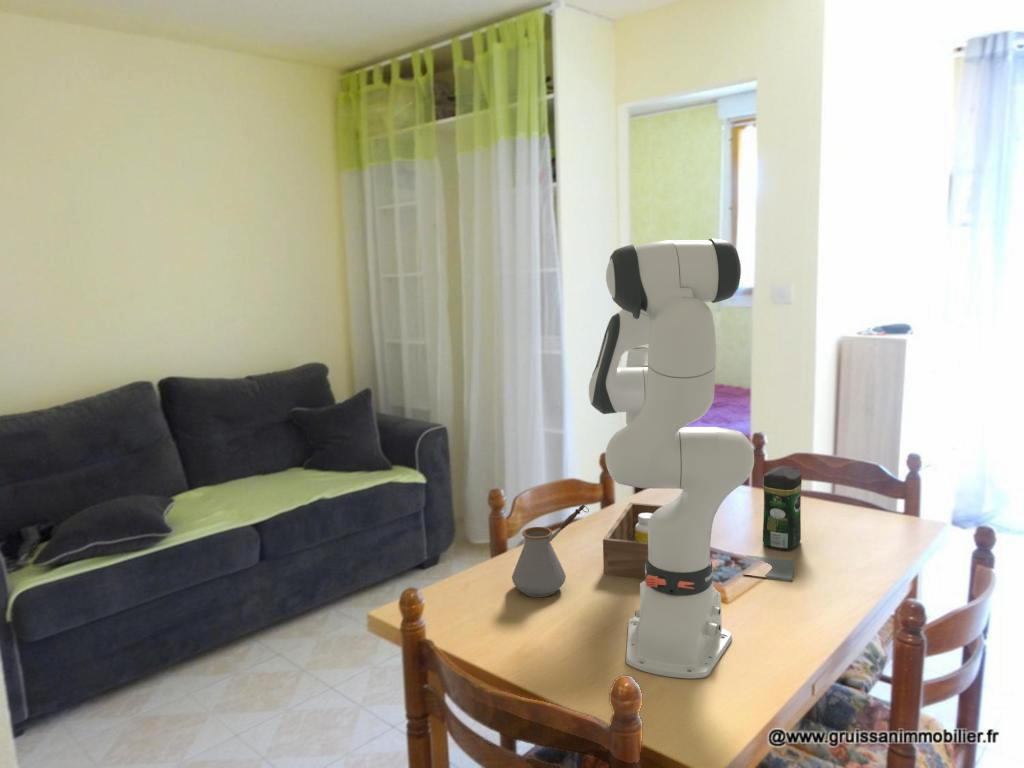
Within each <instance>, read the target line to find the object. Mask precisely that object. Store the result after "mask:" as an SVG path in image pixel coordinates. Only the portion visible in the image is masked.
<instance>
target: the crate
mask: <svg viewBox="0 0 1024 768" xmlns="http://www.w3.org/2000/svg"><path fill="white" fill-rule="evenodd" d="M664 505H665V504H664ZM664 505H663V504H662V505H661V504H651V503H638V502H628V505H627V506H626V507H625V509H624V510H623V511H622V513H621V514H620V515H619V517H618V518H617V520H616V521H615V523H614V524H613V525H612V526H611V528H610V529H609V530H608V532H607V534H606V535H605V536H604V537H603V539H602V555H603V556H602V559H603V562H602V563H603V565H602V566H603V574H604V575H609V576H610V575H611V576H618V577H624V578H625V577H626V578H634V579H642V580H643V579H644V580H645V564H646V558H647V556H648V543H646V542H637V541H635V540H631V539H632V537H633V536H635V526H636V524H637V523H639V521H638V515H639V514H641V513H652V514H653V513H654V512H655V511H656V510H657V509H659V508H660V507H662V506H664Z"/></svg>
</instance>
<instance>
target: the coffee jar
mask: <svg viewBox="0 0 1024 768" xmlns="http://www.w3.org/2000/svg"><path fill="white" fill-rule="evenodd" d="M762 477H763V481H762V484H763V485H762V487H763V489H762V490H763V522H762V523H763V526H762V543H763V545H765V546H767V547H769V548H771V549H773V550H774V549H775V550H779V551H781V550H788V551H789V550H793V549H795V548H796V547H797V546H798V545H799V544H800V542H801V539H802V538H801V537H802V535H801V534H802V530H801V529H802V528H801V527H802V524H801V523H802V522H801V514H802V513H801V512H802V510H801V502H802V500H801V499H802V498H801V497H802V473H801V471H799V470H798V469H797V467H792V466H787V465H779V466H776V467H774V468H772V469H769V470H768V471H767V472H765V473H764V474H763V476H762Z"/></svg>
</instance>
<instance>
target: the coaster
mask: <svg viewBox="0 0 1024 768" xmlns="http://www.w3.org/2000/svg"><path fill="white" fill-rule="evenodd" d="M746 557H748V558H751V559H756V560H758V561H763V562H765V563H768V564H770V565H771V566H772V569H771V570H770V571H769V572H768V573H767V574H766V575H765V576H766V577H767V578H766V579H769V580H770V579H771V580H780V581H787V582H793V577H794V576H793V574H794V559H785V558H777V557H776V558H775V557H767V556H766V557H765V556H758V555H746Z"/></svg>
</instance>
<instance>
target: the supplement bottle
mask: <svg viewBox="0 0 1024 768" xmlns="http://www.w3.org/2000/svg"><path fill="white" fill-rule="evenodd" d="M651 515H652V513H641V514H639V515H638V521H639V523H637V524H636V526H635V535H634V538H635V540H634V541H637V542H646V543H648V522H649V519H650V517H651Z"/></svg>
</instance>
